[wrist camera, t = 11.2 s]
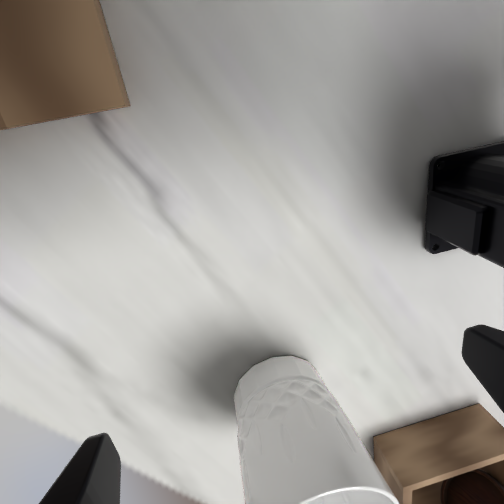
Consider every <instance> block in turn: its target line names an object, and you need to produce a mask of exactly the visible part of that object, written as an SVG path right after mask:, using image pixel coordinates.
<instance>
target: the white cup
mask: <svg viewBox="0 0 504 504" xmlns="http://www.w3.org/2000/svg"><path fill="white" fill-rule="evenodd" d="M234 403H235V410H236V417H237V425H238V434H237V437H238V448H239V459H240V468H241V476H242V484H243V492H244V499H245V504H399V502H398V500H397V499H396V497H395V495H394V494H393V492H392V490H391V489H390V487H389V485H388V484H387V482H386V480H385V479H384V477H383V476H382V474H381V472H380V471H379V469H378V467H377V466H376V464H375V462H374V461H373V459H372V457H371V456H370V454H369V452H368V451H367V449H366V447H365V446H364V444H363V442H362V441H361V439H360V437H359V436H358V434H357V432H356V431H355V429H354V427H353V426H352V424H351V422H350V421H349V419H348V417H347V416H346V414H345V413H344V411H343V410H342V408H341V407H340V405H339V404H338V402H337V400H336V399H335V397H334V396H333V394H332V393H331V392H330V391H329V390H328V388H327V387H326V385H325V383H324V381H323V380H322V378H321V376H320V375H319V373H318V372H317V371H316V370H315V368H314V367H313V366H312V365H311V364H310V363H309V362H308V361H306V360H303V359H300V358H297V357H294V356H280V357H271V358H269V359H267V360H265V361H263V362H260V363H258V364H256V365H254V366H252V367H251V368H250V369H249V371H248V372H247V373H246V374H245V375H244V376H243V377H242V378H241V379H240V380H239V382H238V385H237V388H236V391H235V394H234Z"/></svg>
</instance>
